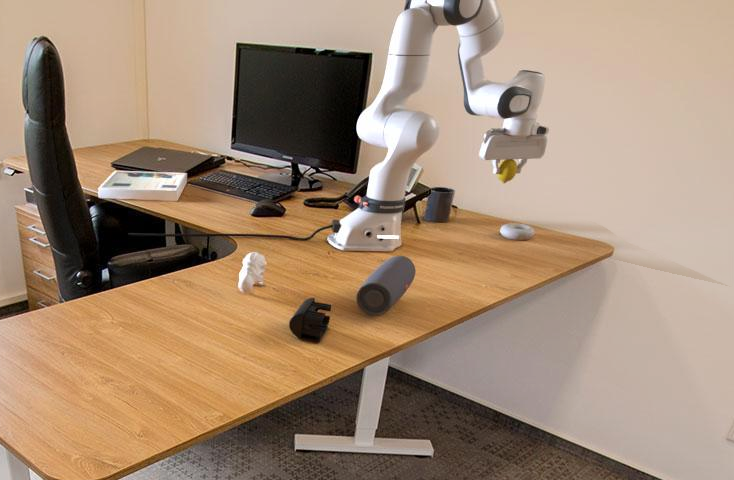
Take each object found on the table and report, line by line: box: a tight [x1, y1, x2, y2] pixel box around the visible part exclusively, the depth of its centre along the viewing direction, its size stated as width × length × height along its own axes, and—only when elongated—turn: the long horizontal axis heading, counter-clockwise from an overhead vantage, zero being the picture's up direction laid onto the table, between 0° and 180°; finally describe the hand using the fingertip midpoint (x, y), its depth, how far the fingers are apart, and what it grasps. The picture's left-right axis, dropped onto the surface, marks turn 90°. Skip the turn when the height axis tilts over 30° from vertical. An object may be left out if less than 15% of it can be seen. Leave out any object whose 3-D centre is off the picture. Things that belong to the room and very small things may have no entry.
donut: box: [499, 222, 536, 241], centre depth 218 cm, size 10×4×10 cm
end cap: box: [288, 297, 332, 344], centre depth 156 cm, size 10×7×7 cm
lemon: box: [496, 159, 518, 184], centre depth 220 cm, size 6×6×8 cm
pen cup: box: [423, 186, 456, 224], centre depth 234 cm, size 8×8×10 cm
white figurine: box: [237, 251, 268, 295], centre depth 180 cm, size 6×8×12 cm
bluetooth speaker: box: [355, 255, 416, 317], centre depth 169 cm, size 23×9×10 cm, turn 148°
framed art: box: [97, 170, 188, 202], centre depth 273 cm, size 30×4×30 cm
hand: (506, 173), depth 220 cm, fingers closed on lemon, 5 cm apart
